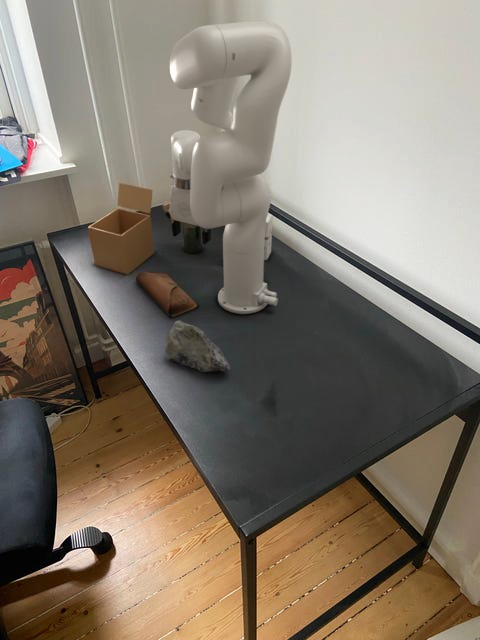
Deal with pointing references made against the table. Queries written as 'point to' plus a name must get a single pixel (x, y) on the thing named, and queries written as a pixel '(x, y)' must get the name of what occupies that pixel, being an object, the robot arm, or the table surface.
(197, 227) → the tea tin
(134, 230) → the carton
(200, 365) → the mineral rock
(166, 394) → the table surface
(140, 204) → the flap
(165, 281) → the sunglasses case
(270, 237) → the ink box
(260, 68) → the robot arm
